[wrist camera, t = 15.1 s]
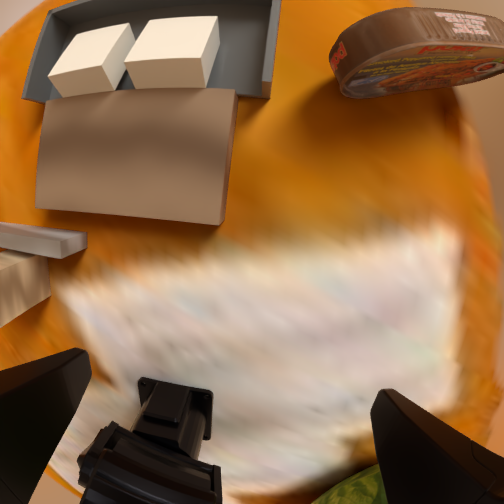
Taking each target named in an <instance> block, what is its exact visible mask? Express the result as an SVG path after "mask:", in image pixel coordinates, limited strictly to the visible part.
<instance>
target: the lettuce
mask: <svg viewBox="0 0 504 504" xmlns="http://www.w3.org/2000/svg"><path fill="white" fill-rule="evenodd" d="M311 504H388V503H387V498H386V494H385V489H384V485H383V481H382V477H381V472H380V468H379V464H376V465H374V466H371V467H369V468H367V469H365V470H363V471H361V472H359V473H357V474H355V475H353V476H351V477H349V478H347V479H345V480H343V481H342V482H340V483H338V484H337V485H335V486H334V487H332V488H331V489H329V490H328V491H326V492H325V493H324V494H322V495H321V496H320V497H318V498H317V499H316V500H314V501H313V502H312V503H311Z"/></svg>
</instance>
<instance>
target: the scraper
mask: <svg viewBox="0 0 504 504" xmlns="http://www.w3.org/2000/svg"><path fill="white" fill-rule="evenodd" d="M0 247H2V248H7V249H8V250H5V251H3V252H0V328H1V327H2V326H4V325H5V324H7V323H8V322H10V321H11V320H13V319H14V318H16V317H17V316H19V315H21V314H22V313H24V312H25V311H27V310H28V309H30V308H32V307H33V306H35V305H36V304H38V303H39V302H41V301H43V300H44V299H46V298H48V297H49V296H51V290H50V280H49V270H48V257H53V258H58V259H62V258H64V257H67V256H69V255H71V254H74V253H76V252H78V251H81V250H83V249H85V248H87V232H81V231H73V230H64V229H56V228H47V227H39V226H30V225H22V224H13V223H5V222H0ZM47 256H48V257H47Z"/></svg>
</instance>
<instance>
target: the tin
mask: <svg viewBox="0 0 504 504" xmlns="http://www.w3.org/2000/svg"><path fill="white" fill-rule="evenodd" d="M329 62H330V65H331V67H332V70H333V72H334V74H335V76H336V78H337V80H338V82H339V85H340V91H341V93H342V94H343V95H344V96H346V97H349V98H355V99H366V98H373V97H381V96H387V95H392V94H398V93H404V92H410V91H417V90H425V89H433V88H441V87H451V86H459V85H464V84H468V83H473V82H477V81H481V80H484V79H487V78H491V77H493V76H496V75H498V74H502V73H504V22H503V21H502V20H500V19H498V18H496V17H492V16H488V15H482V14H477V13H471V12H465V11H457V10H447V9H436V8H419V7H404V8H395V9H390V10H385V11H382V12H378V13H375V14H373V15H370V16H368V17H365V18H363V19H361V20H359V21H358V22H356V23H354V24H353V25H351V26H350V27H348V28H347V29H346V30H344V31H343V32H342V33H341V34H340V36H339V37H338V39H337V41H336V42H335V44H334V45H333V47H332V49H331V51H330V54H329Z"/></svg>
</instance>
